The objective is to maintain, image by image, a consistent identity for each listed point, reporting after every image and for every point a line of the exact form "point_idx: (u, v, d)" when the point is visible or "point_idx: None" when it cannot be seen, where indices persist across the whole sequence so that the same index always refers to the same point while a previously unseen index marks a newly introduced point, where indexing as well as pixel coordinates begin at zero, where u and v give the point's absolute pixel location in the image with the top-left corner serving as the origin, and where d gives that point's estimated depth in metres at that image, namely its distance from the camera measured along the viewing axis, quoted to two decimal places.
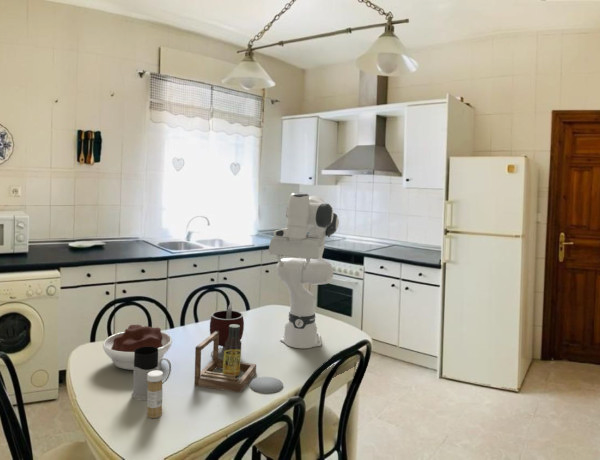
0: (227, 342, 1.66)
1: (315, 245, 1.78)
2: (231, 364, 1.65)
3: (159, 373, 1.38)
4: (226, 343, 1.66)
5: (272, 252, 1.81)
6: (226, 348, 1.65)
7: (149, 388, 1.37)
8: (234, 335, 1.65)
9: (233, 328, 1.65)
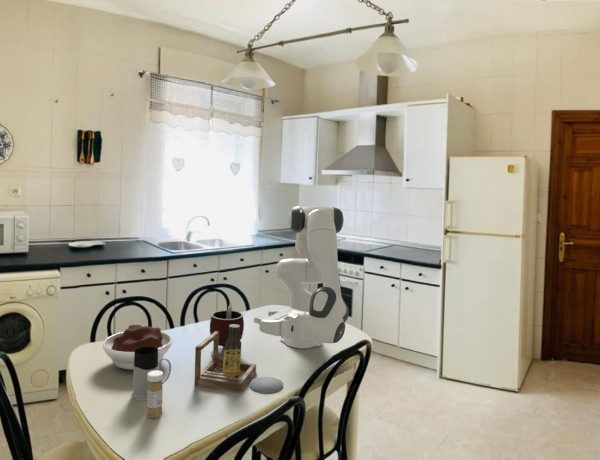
0: (227, 342, 1.66)
1: None
2: (231, 364, 1.65)
3: (159, 373, 1.38)
4: (226, 343, 1.66)
5: None
6: (226, 348, 1.65)
7: (149, 388, 1.37)
8: (234, 335, 1.65)
9: (233, 328, 1.65)
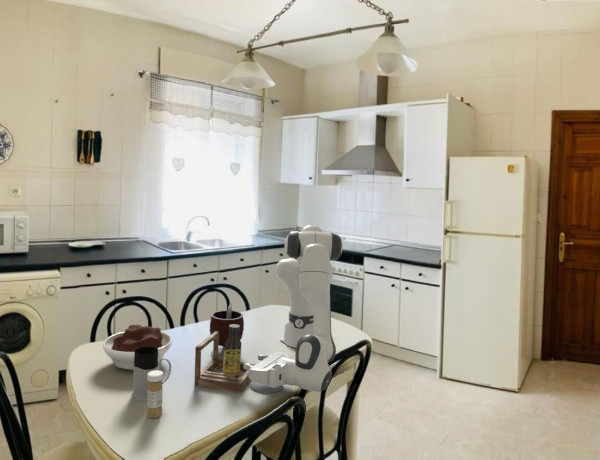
0: (227, 342, 1.66)
1: None
2: (231, 364, 1.65)
3: (159, 373, 1.38)
4: (226, 343, 1.66)
5: None
6: (226, 348, 1.65)
7: (149, 388, 1.37)
8: (234, 335, 1.65)
9: (233, 328, 1.65)
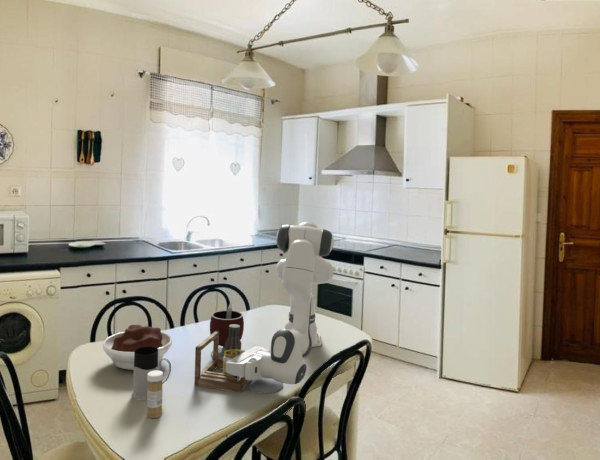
0: (227, 342, 1.66)
1: None
2: None
3: (159, 373, 1.38)
4: (226, 343, 1.66)
5: None
6: (226, 348, 1.65)
7: (149, 388, 1.37)
8: (234, 335, 1.65)
9: (233, 328, 1.65)
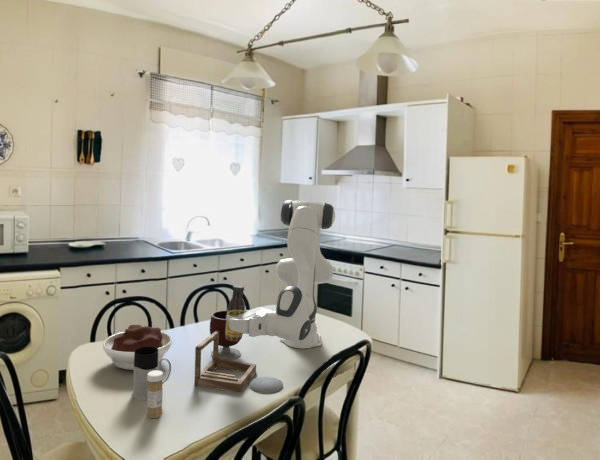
0: (231, 302, 1.64)
1: None
2: None
3: (159, 373, 1.38)
4: (230, 303, 1.64)
5: None
6: (229, 308, 1.63)
7: (149, 388, 1.37)
8: (238, 296, 1.63)
9: (237, 288, 1.63)
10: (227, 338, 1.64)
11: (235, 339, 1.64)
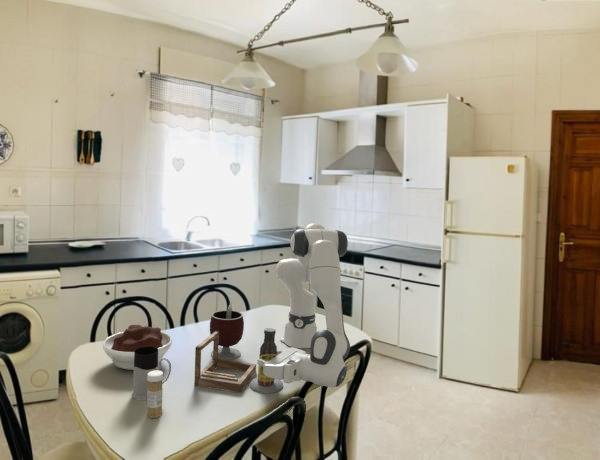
0: (263, 347, 1.62)
1: None
2: None
3: (159, 373, 1.38)
4: (261, 348, 1.62)
5: None
6: (262, 353, 1.61)
7: (149, 388, 1.37)
8: (270, 340, 1.61)
9: (269, 332, 1.61)
10: (260, 383, 1.62)
11: (268, 384, 1.62)
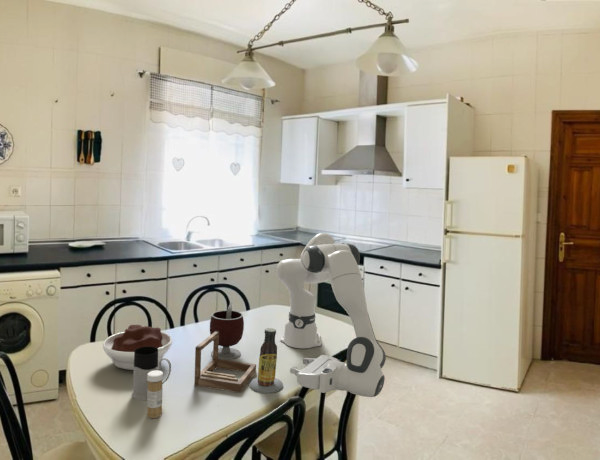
0: (263, 347, 1.62)
1: None
2: (267, 369, 1.61)
3: (159, 373, 1.38)
4: (262, 348, 1.62)
5: None
6: (262, 353, 1.61)
7: (149, 388, 1.37)
8: (270, 340, 1.61)
9: (269, 332, 1.61)
10: (260, 383, 1.62)
11: (268, 384, 1.62)
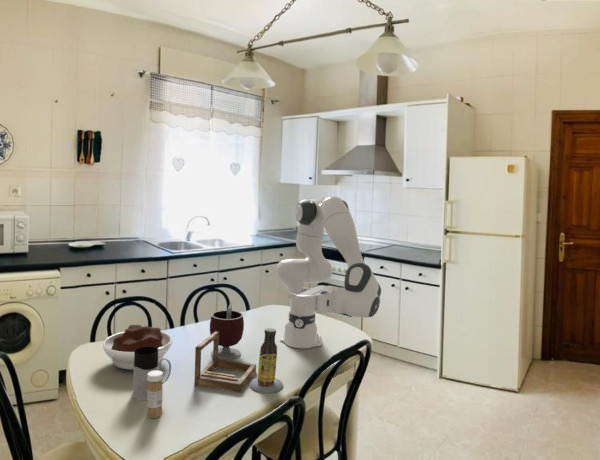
0: (263, 346, 1.62)
1: None
2: (267, 369, 1.61)
3: (159, 373, 1.38)
4: (262, 348, 1.62)
5: None
6: (262, 353, 1.61)
7: (149, 388, 1.37)
8: (270, 340, 1.61)
9: (269, 332, 1.61)
10: (260, 383, 1.62)
11: (268, 384, 1.62)
